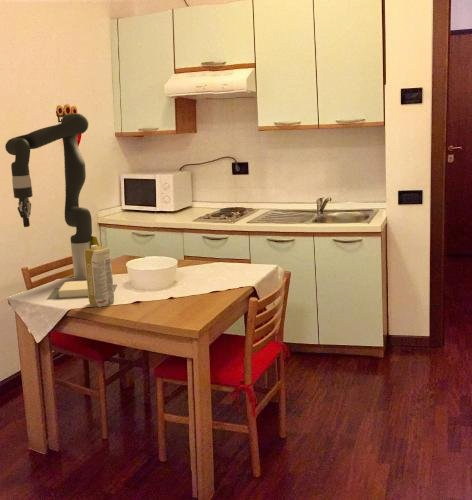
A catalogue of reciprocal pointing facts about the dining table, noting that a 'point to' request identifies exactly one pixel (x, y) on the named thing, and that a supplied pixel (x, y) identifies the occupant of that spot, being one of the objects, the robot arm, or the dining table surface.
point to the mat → (56, 296)
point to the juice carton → (99, 275)
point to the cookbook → (73, 289)
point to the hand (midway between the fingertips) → (26, 226)
